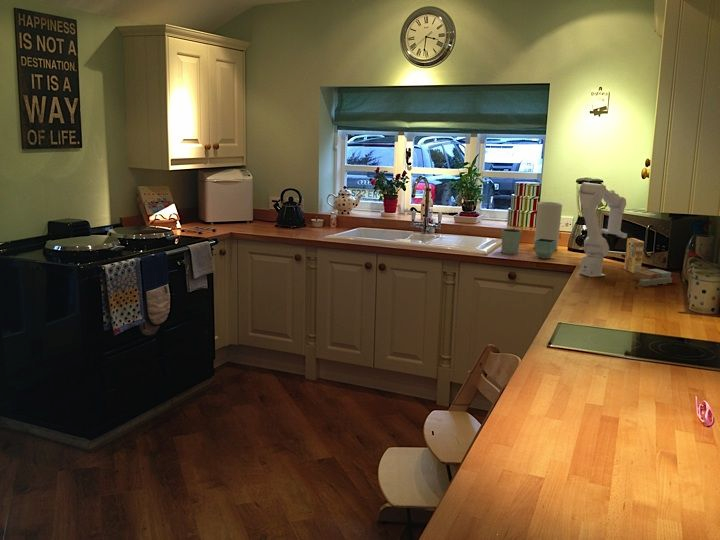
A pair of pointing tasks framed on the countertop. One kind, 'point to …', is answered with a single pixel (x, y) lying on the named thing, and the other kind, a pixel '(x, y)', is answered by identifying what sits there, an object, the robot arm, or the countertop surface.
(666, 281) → the stop rail
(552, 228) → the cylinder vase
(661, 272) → the grey-blue block
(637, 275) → the walnut block
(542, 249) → the flower pot
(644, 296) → the countertop surface
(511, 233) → the green tapered cup
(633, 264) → the candy box
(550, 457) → the countertop surface
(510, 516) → the countertop surface
